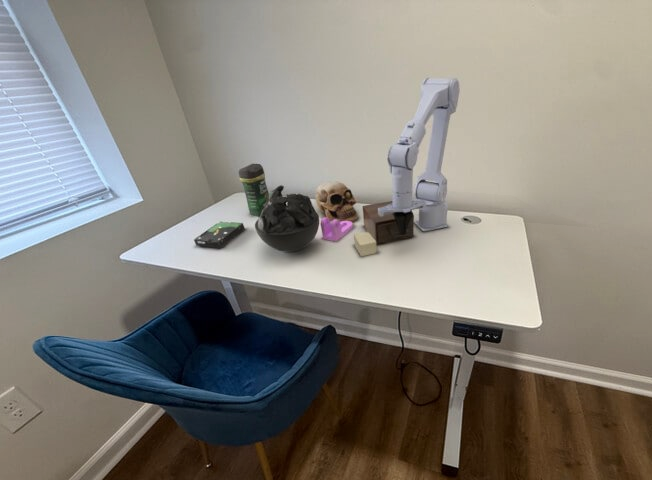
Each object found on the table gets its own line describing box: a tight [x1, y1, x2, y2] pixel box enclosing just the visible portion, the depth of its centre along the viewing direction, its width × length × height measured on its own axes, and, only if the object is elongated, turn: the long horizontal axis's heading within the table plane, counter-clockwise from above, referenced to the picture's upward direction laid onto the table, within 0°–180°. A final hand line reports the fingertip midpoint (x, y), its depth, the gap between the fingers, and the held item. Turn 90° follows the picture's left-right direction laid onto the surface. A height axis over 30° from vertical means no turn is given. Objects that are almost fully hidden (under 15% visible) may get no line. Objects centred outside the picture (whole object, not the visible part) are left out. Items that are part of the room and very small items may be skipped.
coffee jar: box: [237, 163, 270, 217], centre depth 126 cm, size 10×8×19 cm
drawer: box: [377, 218, 415, 244], centre depth 107 cm, size 18×12×6 cm, turn 18°
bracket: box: [320, 216, 354, 242], centre depth 112 cm, size 13×6×7 cm, turn 152°
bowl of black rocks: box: [254, 185, 320, 253], centre depth 101 cm, size 20×20×19 cm
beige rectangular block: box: [353, 231, 378, 257], centre depth 102 cm, size 5×8×4 cm
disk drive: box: [193, 221, 246, 249], centre depth 114 cm, size 10×3×15 cm
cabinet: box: [362, 200, 415, 245], centre depth 110 cm, size 14×13×8 cm
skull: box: [314, 180, 359, 223], centre depth 123 cm, size 16×17×13 cm
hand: (402, 233), depth 99 cm, fingers closed
